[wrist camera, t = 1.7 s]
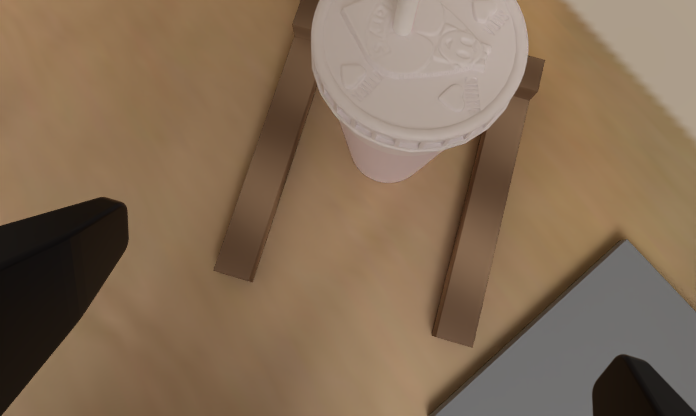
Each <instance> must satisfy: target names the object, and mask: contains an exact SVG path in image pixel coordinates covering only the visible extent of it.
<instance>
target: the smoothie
mask: <svg viewBox="0 0 696 416" xmlns="http://www.w3.org/2000/svg"><path fill="white" fill-rule="evenodd" d="M527 58H528V33H527V28H526V23H525V20H524V17H523V14H522V11H521V9H520V6H519V4H518V3H517V1H516V0H319V2H318V5H317V8H316V10H315V13H314V18H313V22H312V29H311V59H312V71H313V74H314V77H315V80H316V83H317V86H318V89H319V92H320V94H321V96H322V97H323V99H324V100H325V102H326V103H327V105H328V106H329V108H330V109H331V111H332V112H333V114H334V115H335V116H336V117H337V118H338V119H339V121H340V124H341V127H342V130H343V133H344V136H345V139H346V142H347V145H348V148H349V150H350V153H351V156H352V159H353V161H354V163H355V165H356V166H357V168H358V169H359V170H360V171H361V172H362V173H363V174H364V175H366V176H367V177H369V178H371V179H373V180H375V181H378V182H383V183H395V182H399V181H402V180H405V179H407V178H409V177H410V176H412V175H413V174H414V173H416V172H417V171H418V170H419V169H421V168H422V167H423V166H424V165H426V164H427V163H428V162H429V161H431V160H432V159H433V158H435V157H436V156H437V155H438V154H440V153H441V152H442V151H443V150H445V149H449V148H452V147H455V146H458V145H462V144H465V143H467V142H468V141H470V140H471V139H473V138H475V137H476V136H478V135H479V134H481V133H482V132H484V131H486V130H487V129H489V128H490V126H491V125H492V124H493V123H494V122H495V121H496V120H497V119H498V117H499V116H500V115H501V114H502V113H503V112H504V111H505V110H506V108H507V106H508V104H509V102H510V100H511V98H512V97H513V95H514V94H515V92H516V91H517V89H518V87H519V85H520V83H521V80H522V77H523V75H524V72H525V68H526V64H527Z"/></svg>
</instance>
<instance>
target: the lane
mask: <svg viewBox="0 0 696 416" xmlns="http://www.w3.org/2000/svg"><path fill="white" fill-rule="evenodd" d="M318 2H319V0H301V1H300V4H299V7H298V10H297V13H296V16H295V19H294V21H293V24H292V25H293V30H294V39H293V42H292V45H291V48H290V51H289V54H288V56H287V59H286V62H285V65H284V68H283V71H282V74H281V77H280V80H279V82H278V85H277V88H276V91H275V94H274V97H273V100H272V103H271V106H270V108H269V111H268V114H267V117H266V120H265V123H264V126H263V129H262V132H261V134H260V137H259V140H258V143H257V146H256V149H255V152H254V155H253V158H252V161H251V163H250V166H249V169H248V172H247V175H246V178H245V181H244V184H243V187H242V189H241V192H240V195H239V198H238V201H237V204H236V207H235V210H234V213H233V215H232V218H231V221H230V224H229V227H228V230H227V233H226V236H225V239H224V241H223V244H222V247H221V250H220V253H219V256H218V259H217V262H216V265H215V267H214V270H213V271H216V272H220V273H223V274H226V275H230V276H233V277H237V278H240V279H243V280H247V281H250V282H253V279H254V276H255V273H256V270H257V267H258V264H259V261H260V258H261V255H262V252H263V249H264V246H265V243H266V240H267V237H268V234H269V231H270V227H271V224H272V221H273V218H274V215H275V212H276V209H277V206H278V203H279V200H280V197H281V194H282V191H283V188H284V185H285V182H286V179H287V176H288V173H289V170H290V167H291V163H292V160H293V157H294V154H295V151H296V148H297V145H298V142H299V139H300V136H301V133H302V130H303V127H304V124H305V121H306V118H307V115H308V112H309V109H310V106H311V103H312V99H313V96H314V93H315V90H316V87H317V83H316V80H315V77H314V74H313V71H312V59H311V29H312V22H313V18H314V13H315V10H316V8H317V5H318ZM544 62H545V60H543V59H539V58H535V57H532V56H528V58H527V64H526V68H525V72H524V75H523V77H522V80H521V83H520V85H519V87H518V89H517V91H516V92H515V94H514V95H513V97H512V98H511V100H510V102H509V104H508V106H507V108H506V110H505V111H504V112H503V113H502V114H501V115H500V116H499V117H498V119H497V120H496V121H495V122H494V123H493V124H492V125H491V126H490V128H489V129H487V130H486V131H484V132H482V135H481V139H480V143H479V147H478V151H477V155H476V159H475V163H474V167H473V171H472V175H471V179H470V183H469V187H468V191H467V195H466V199H465V203H464V207H463V211H462V215H461V220H460V224H459V228H458V232H457V236H456V240H455V244H454V248H453V252H452V256H451V260H450V264H449V268H448V272H447V276H446V280H445V284H444V288H443V292H442V296H441V300H440V304H439V308H438V312H437V316H436V320H435V324H434V328H433V333H432V336H435V337H438V338H441V339H445V340H448V341H452V342H455V343H458V344H462V345H465V346H468V347H472V348H473V344H474V339H475V335H476V331H477V326H478V322H479V318H480V313H481V309H482V305H483V300H484V296H485V292H486V287H487V283H488V279H489V274H490V270H491V265H492V261H493V257H494V252H495V248H496V244H497V239H498V235H499V231H500V226H501V222H502V218H503V213H504V209H505V205H506V200H507V196H508V192H509V187H510V183H511V179H512V174H513V170H514V165H515V161H516V157H517V152H518V148H519V144H520V139H521V135H522V131H523V126H524V122H525V118H526V113H527V109H528V105H529V101H530V99H531V98H532V97H533V96H534V95H535V94H536V93H537V92H538V89H539V84H540V80H541V76H542V71H543V67H544Z"/></svg>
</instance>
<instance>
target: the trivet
mask: <svg viewBox="0 0 696 416" xmlns="http://www.w3.org/2000/svg"><path fill="white" fill-rule="evenodd" d="M620 354H626V355H629V356H633V357H636V358H639V359H642V360H645V361H646V362H648V363H649V364H650V365H651V366H652V367H653V368H654V369H655V370H656V371H657V372H658V373H659V374H660V376H661V377H662V378H663V379H664V380H665V381H666V382H667V383H668V384H669V385H670V386H671V387H672V388H673V389H674V390H675V391H676V392H677V393H678V394H679V395H680V396H681V397H682V398H683V399H684V401H685V402H686V403H687V404H688V405H689V406H690V407H691V408H692V409H693V410H694V411H695V412H696V312H695V311H694V310H693V308H692V307H691V306H690V305H689V304H688V303H687V302H686V301H685V300H684V299H683V298H682V297H681V296H680V295H679V294H678V293H677V292H676V290H675V289H674V288H673V287H672V286H671V285H670V284H669V283H668V282H667V281H666V280H665V279H664V278H663V277H662V276H661V275H660V274H659V272H658V271H657V270H656V269H655V268H654V267H653V266H652V265H651V264H650V263H649V262H648V261H647V260H646V259H645V258H644V257H643V256H642V255H641V253H640V252H639V251H638V250H637V249H636V248H635V247H634V246H633V245H632V244H631V243H630V242H629V241H628V240H627V239H626V240H621V241H619V242H618V243H617V244H616V245H615V246H613V247H612V248H611V249H610V250H609V251H608V252H607V253H606V254H605V255H604V256H603V257H601V258H600V259H599V260H598V261H597V262H596V263H595V264H594V265H593V266H592V267H591V268H589V269H588V270H587V271H586V272H585V273H584V274H583V275H582V276H581V277H580V278H579V279H577V280H576V281H575V282H574V283H573V284H572V285H571V286H570V287H569V288H568V289H567V290H565V291H564V292H563V293H562V294H561V295H560V296H559V297H558V298H557V299H556V300H555V301H554V302H552V303H551V304H550V305H549V306H548V307H547V308H546V309H545V310H544V311H543V312H542V313H540V314H539V315H538V316H537V317H536V318H535V319H534V320H533V321H532V322H531V323H530V324H528V325H527V326H526V327H525V328H524V329H523V330H522V331H521V332H520V333H519V334H518V335H516V336H515V337H514V338H513V339H512V340H511V341H510V342H509V343H508V344H507V345H506V346H504V347H503V348H502V349H501V350H500V351H499V352H498V353H497V354H496V355H495V356H494V357H492V358H491V359H490V360H489V361H488V362H487V363H486V364H485V365H484V366H483V367H482V368H481V369H479V370H478V371H477V372H476V373H475V374H474V375H473V376H472V377H471V378H470V379H469V380H467V381H466V382H465V383H464V384H463V385H462V386H461V387H460V388H459V389H458V390H457V391H455V392H454V393H453V394H452V395H451V396H450V397H449V398H448V399H447V400H446V401H445V402H443V403H442V404H441V405H440V406H439V407H438V408H437V409H436V410H435V411H434V412H433V413H431V414H430V415H429V416H593V407H592V390H593V386H594V384H595V382H596V380H597V379H598V378H599V376H600V375H601V374H602V373H603V372H604V370H605V369H606V368H607V367H608V365H609V364H610V363H611V362H612V360H613V359H614V358H615V357H616V356H618V355H620Z"/></svg>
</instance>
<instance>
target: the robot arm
mask: <svg viewBox="0 0 696 416" xmlns="http://www.w3.org/2000/svg"><path fill="white" fill-rule="evenodd" d="M128 240H129V234H128V212H127V207H126V205H125V204H124V203H122V202H120V201H116V200H113V199H110V198H106V197H100V198H96V199H92V200H89V201H85V202H82V203H78V204H75V205H72V206H68V207H65V208H61V209H58V210H54V211H51V212H47V213H44V214H40V215H37V216H33V217H30V218H26V219H23V220H19V221H16V222H12V223H9V224H5V225H2V226H0V416H2V414H3V413H4V412H5V411H6V409H7V408H8V407H9V406H10V405H11V403H12V402H13V401H14V400H15V398H16V397H17V396H18V395H19V394H20V392H21V391H22V390H23V389H24V387H25V386H26V385H27V384H28V383H29V381H30V380H31V379H32V378H33V376H34V375H35V374H36V373H37V372H38V370H39V369H40V368H41V367H42V365H43V364H44V363H45V362H46V361H47V359H48V358H49V357H50V356H51V354H52V353H53V352H54V351H55V350H56V348H57V347H58V346H59V345H60V344H61V342H62V341H63V340H64V339H65V337H66V336H67V335H68V334H69V333H70V331H71V330H72V329H73V328H74V326H75V325H76V324H77V322H78V321H79V320H80V319H81V317H82V316H83V314H84V313H85V311H86V310H87V308H88V307H89V305H90V304H91V302H92V301H93V299H94V298H95V296H96V295H97V293H98V292H99V290H100V289H101V287H102V286H103V284H104V282H105V281H106V279H107V278H108V276H109V275H110V273H111V272H112V270H113V269H114V267H115V266H116V264H117V262H118V261H119V259H120V258H121V256H122V255H123V253H124V252H125V250H126V248H127V245H128ZM592 407H593V416H696V412H695V411H694V410H693V409H692V408H691V407H690V406H689V405H688V404H687V403H686V402H685V401H684V399H683V398H682V397H681V396H680V395H679V394H678V393H677V392H676V391H675V390H674V389H673V388H672V387H671V386H670V385H669V384H668V383H667V382H666V381H665V380H664V379H663V378H662V377H661V376H660V374H659V373H658V372H657V371H656V370H655V369H654V368H653V367H652V366H651V365H650V364H649V363H648V362H646V361H645V360H642V359H639V358H636V357H633V356H629V355H626V354H620V355H618V356H616V357H615V358H614V359H613V360H612V362H611V363H610V364H609V365H608V367H607V368H606V369H605V370H604V372H603V373H602V374H601V375H600V376H599V378H598V379H597V380H596V382H595V384H594V386H593V390H592Z"/></svg>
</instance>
